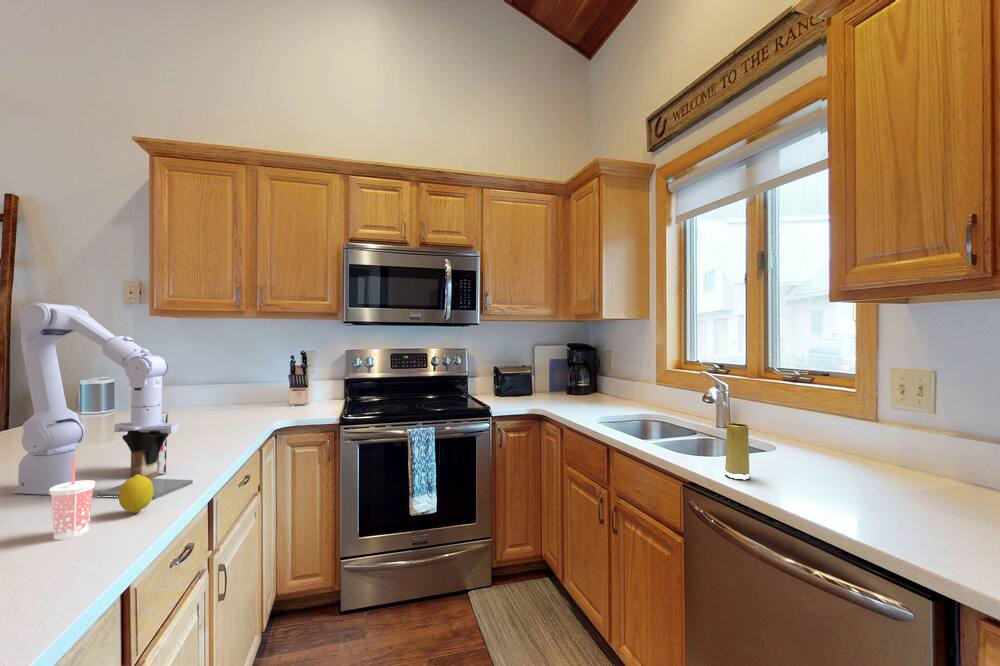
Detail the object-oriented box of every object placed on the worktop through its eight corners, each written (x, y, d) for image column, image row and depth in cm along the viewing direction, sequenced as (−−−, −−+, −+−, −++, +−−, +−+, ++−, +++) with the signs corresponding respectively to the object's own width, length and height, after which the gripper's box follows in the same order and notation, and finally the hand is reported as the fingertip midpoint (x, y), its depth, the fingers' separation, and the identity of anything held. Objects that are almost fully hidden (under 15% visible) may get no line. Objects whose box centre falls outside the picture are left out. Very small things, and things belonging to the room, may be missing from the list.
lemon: (133, 520, 87) (134, 479, 87) (111, 517, 88) (112, 477, 88) (160, 509, 93) (160, 471, 93) (138, 507, 94) (139, 469, 94)
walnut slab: (130, 482, 102) (131, 452, 102) (149, 475, 107) (149, 447, 107) (140, 482, 102) (140, 452, 102) (158, 476, 107) (159, 447, 107)
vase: (721, 473, 123) (721, 421, 123) (744, 474, 122) (744, 422, 122) (729, 479, 117) (729, 426, 117) (754, 481, 116) (754, 427, 116)
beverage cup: (91, 524, 85) (92, 452, 85) (97, 533, 81) (98, 457, 81) (46, 535, 80) (47, 458, 81) (50, 545, 76) (51, 464, 77)
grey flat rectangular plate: (96, 496, 99) (96, 493, 99) (140, 481, 110) (140, 478, 110) (154, 499, 98) (154, 495, 98) (192, 483, 109) (192, 480, 109)
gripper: (102, 407, 101) (100, 466, 101) (160, 408, 100) (159, 468, 100) (130, 403, 108) (129, 458, 108) (185, 404, 107) (184, 460, 107)
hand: (145, 462), depth 104 cm, fingers closed on walnut slab, 2 cm apart
